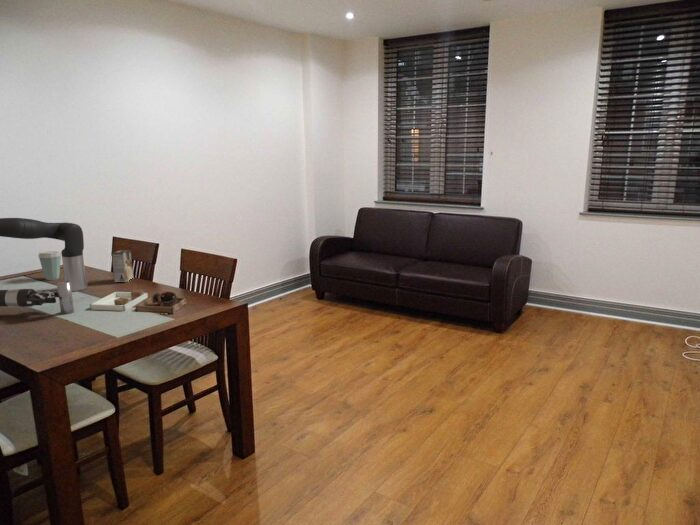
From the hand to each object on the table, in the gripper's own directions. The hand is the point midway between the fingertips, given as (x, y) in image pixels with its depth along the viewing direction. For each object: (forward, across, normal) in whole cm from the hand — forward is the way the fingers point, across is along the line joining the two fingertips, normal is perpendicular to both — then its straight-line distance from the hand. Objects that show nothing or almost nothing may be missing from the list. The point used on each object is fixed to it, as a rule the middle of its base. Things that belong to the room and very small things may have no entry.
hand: (60, 297), depth 214 cm
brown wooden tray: (+40, +7, +8) cm, 41 cm away
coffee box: (+5, +55, +8) cm, 56 cm away
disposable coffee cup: (-34, +61, +8) cm, 70 cm away
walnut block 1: (+23, +5, +7) cm, 24 cm away
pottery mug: (+41, +8, +8) cm, 42 cm away
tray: (+19, +12, +8) cm, 24 cm away
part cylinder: (+2, 0, +8) cm, 8 cm away
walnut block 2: (+25, +18, +7) cm, 32 cm away
